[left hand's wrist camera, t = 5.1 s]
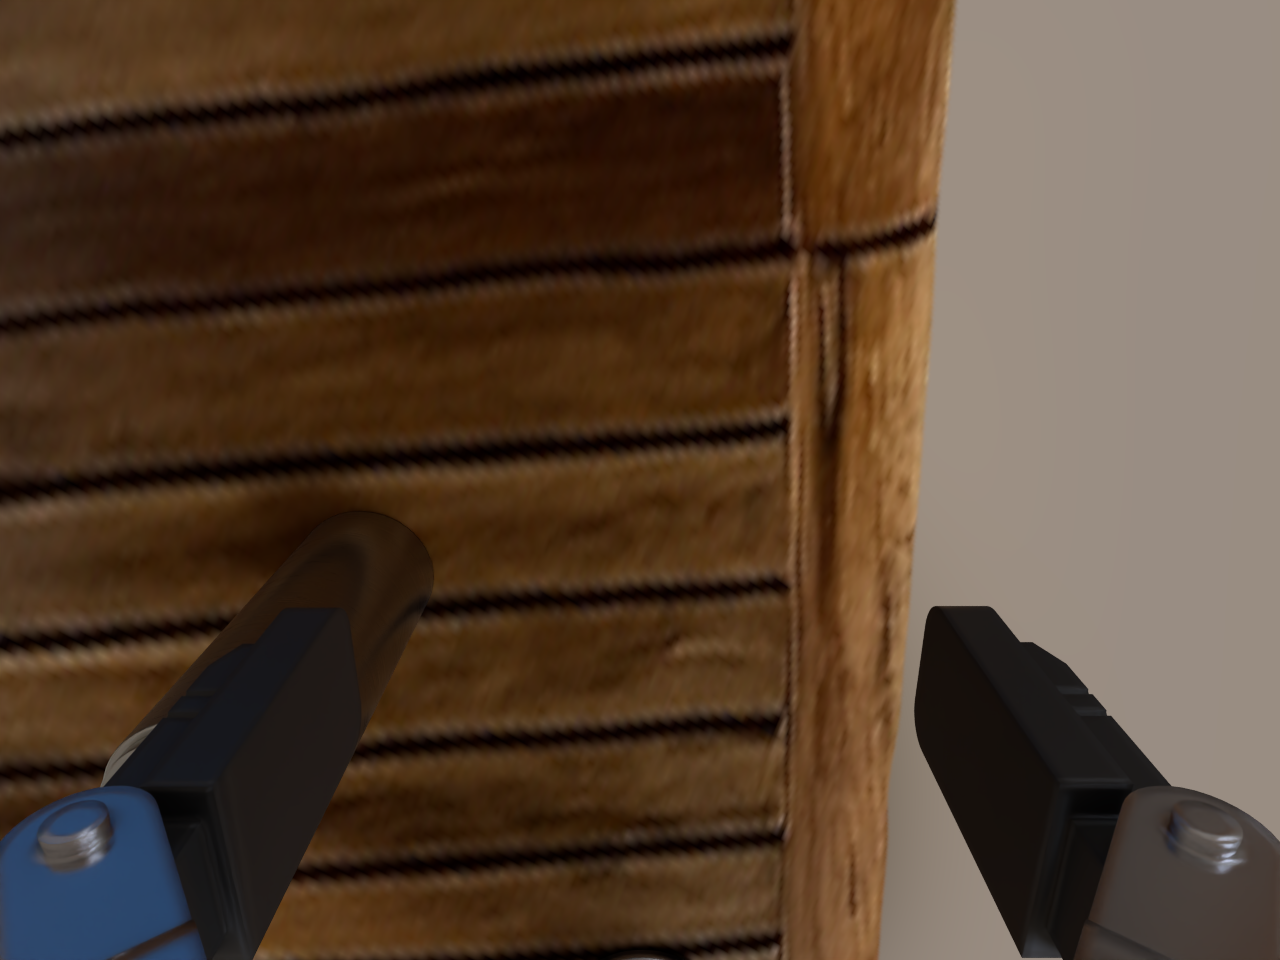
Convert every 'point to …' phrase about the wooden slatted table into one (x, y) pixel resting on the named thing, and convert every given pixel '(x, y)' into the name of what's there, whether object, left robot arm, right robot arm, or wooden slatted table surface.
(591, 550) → the wooden slatted table surface
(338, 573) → the bottle
